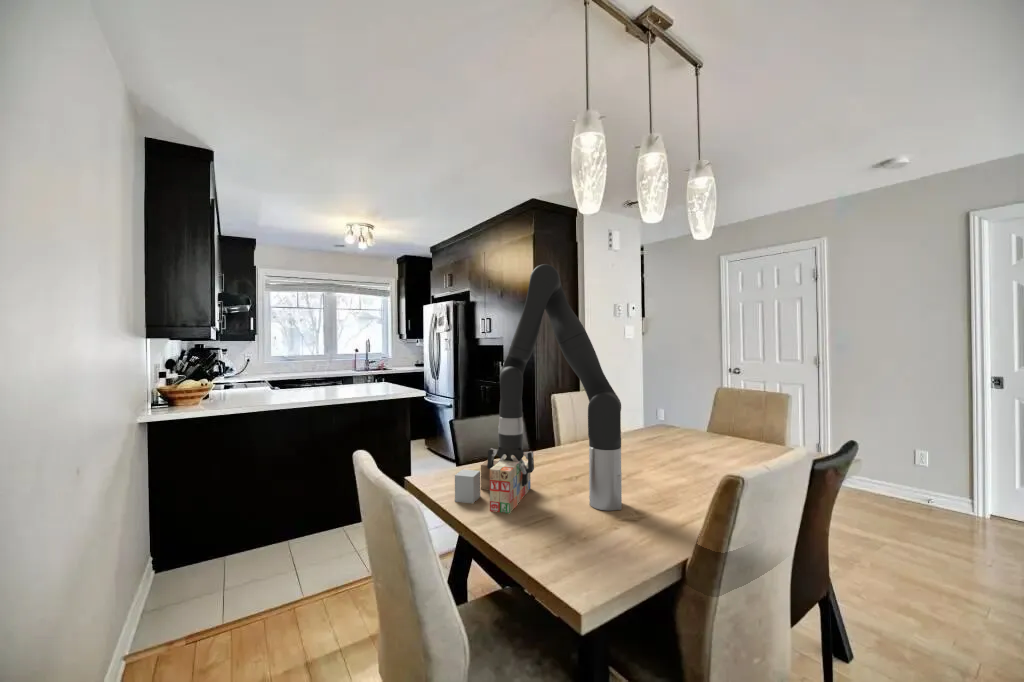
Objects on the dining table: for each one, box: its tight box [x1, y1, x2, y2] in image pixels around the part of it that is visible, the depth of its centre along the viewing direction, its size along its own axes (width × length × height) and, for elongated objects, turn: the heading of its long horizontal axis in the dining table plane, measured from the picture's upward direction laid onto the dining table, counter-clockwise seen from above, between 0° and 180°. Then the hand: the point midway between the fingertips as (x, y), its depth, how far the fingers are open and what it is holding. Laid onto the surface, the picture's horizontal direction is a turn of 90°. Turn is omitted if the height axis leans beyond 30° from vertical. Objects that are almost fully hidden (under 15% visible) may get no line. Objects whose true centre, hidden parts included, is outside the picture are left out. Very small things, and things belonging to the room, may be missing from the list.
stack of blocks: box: [489, 458, 531, 514], centre depth 128 cm, size 21×6×12 cm, turn 162°
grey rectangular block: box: [454, 469, 481, 504], centre depth 128 cm, size 6×6×8 cm
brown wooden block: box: [480, 459, 499, 491], centre depth 139 cm, size 6×6×8 cm
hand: (510, 484), depth 128 cm, fingers open, 8 cm apart
